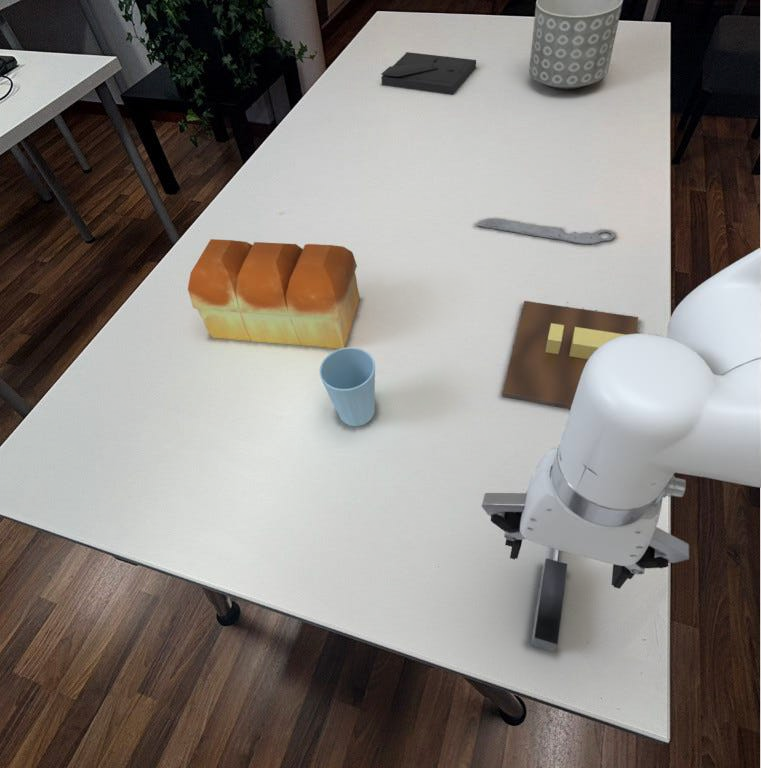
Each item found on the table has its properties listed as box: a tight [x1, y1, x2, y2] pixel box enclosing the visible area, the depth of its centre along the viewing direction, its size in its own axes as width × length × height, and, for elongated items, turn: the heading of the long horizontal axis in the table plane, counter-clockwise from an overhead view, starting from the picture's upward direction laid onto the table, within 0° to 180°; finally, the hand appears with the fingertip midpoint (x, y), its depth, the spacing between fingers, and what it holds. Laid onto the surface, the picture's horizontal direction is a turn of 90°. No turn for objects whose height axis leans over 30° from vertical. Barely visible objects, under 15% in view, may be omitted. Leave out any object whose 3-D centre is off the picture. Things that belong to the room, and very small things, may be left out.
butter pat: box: [545, 323, 564, 354], centre depth 86 cm, size 2×4×3 cm, turn 162°
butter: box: [569, 327, 625, 359], centre depth 84 cm, size 8×4×3 cm, turn 72°
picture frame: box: [380, 51, 477, 95], centre depth 150 cm, size 16×3×21 cm
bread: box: [187, 238, 361, 350], centre depth 93 cm, size 25×12×15 cm, turn 79°
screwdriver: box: [530, 548, 568, 653], centre depth 66 cm, size 19×2×4 cm, turn 162°
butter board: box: [502, 300, 639, 410], centre depth 86 cm, size 18×20×1 cm
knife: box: [476, 218, 616, 245], centre depth 106 cm, size 25×1×5 cm
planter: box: [528, 0, 624, 91], centre depth 134 cm, size 19×19×18 cm
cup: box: [319, 346, 376, 427], centre depth 80 cm, size 8×8×10 cm
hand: (564, 558), depth 55 cm, fingers open, 9 cm apart
